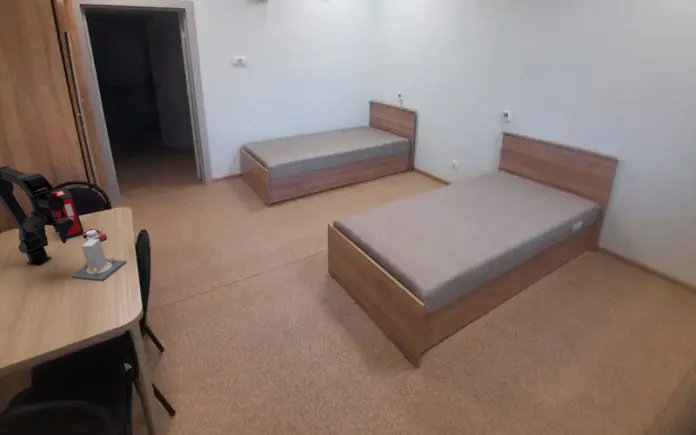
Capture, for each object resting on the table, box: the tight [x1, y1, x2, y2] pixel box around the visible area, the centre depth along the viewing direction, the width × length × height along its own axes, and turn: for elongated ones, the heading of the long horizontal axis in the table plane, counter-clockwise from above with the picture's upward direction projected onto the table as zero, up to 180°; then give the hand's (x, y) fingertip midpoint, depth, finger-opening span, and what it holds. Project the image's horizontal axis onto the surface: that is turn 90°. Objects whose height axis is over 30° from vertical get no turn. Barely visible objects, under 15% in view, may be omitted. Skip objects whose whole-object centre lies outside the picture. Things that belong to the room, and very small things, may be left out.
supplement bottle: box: [86, 230, 102, 244], centre depth 180 cm, size 5×5×8 cm
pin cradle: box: [70, 255, 127, 282], centre depth 164 cm, size 14×14×4 cm
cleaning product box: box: [51, 187, 85, 240], centre depth 193 cm, size 16×9×20 cm, turn 43°
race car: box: [82, 228, 108, 242], centre depth 191 cm, size 13×5×4 cm, turn 61°
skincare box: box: [81, 239, 107, 272], centre depth 162 cm, size 6×4×12 cm
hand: (54, 242), depth 160 cm, fingers open, 9 cm apart
